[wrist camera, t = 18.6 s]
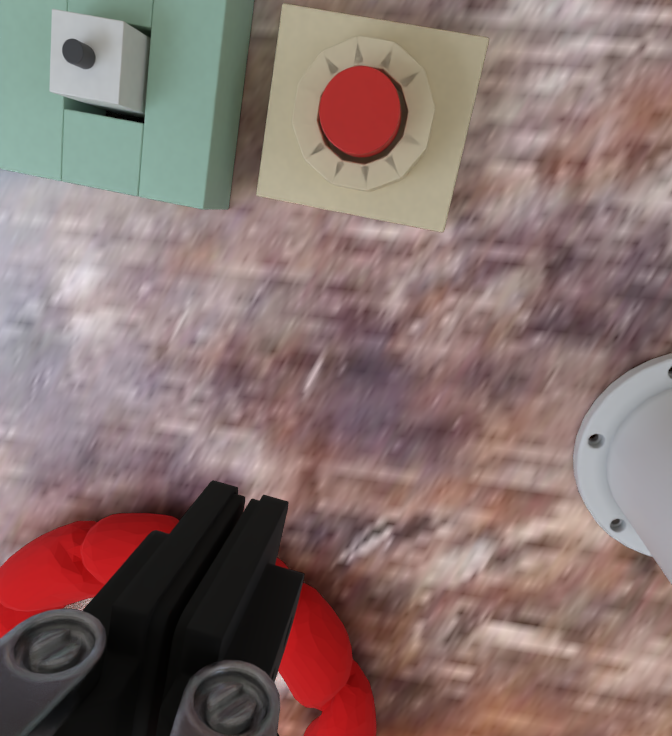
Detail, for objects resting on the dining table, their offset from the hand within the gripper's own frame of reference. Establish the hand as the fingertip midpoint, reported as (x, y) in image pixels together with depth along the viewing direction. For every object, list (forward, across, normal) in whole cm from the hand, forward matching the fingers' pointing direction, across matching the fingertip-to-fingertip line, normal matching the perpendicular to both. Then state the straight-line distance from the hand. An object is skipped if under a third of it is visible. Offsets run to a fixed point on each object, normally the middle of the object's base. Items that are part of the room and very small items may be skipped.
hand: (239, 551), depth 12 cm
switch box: (+22, +2, -11) cm, 25 cm away
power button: (+19, +2, -11) cm, 22 cm away
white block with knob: (+22, +15, -11) cm, 28 cm away
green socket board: (+22, +19, -10) cm, 31 cm away
